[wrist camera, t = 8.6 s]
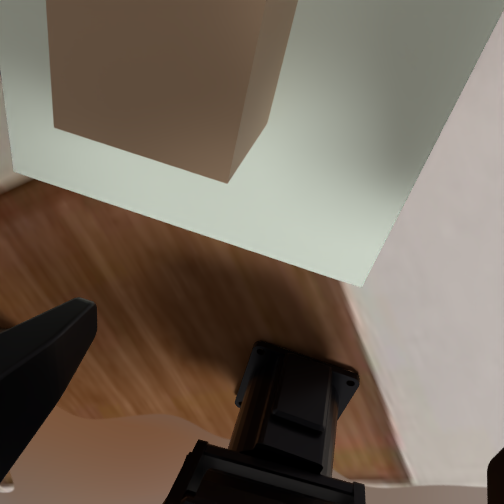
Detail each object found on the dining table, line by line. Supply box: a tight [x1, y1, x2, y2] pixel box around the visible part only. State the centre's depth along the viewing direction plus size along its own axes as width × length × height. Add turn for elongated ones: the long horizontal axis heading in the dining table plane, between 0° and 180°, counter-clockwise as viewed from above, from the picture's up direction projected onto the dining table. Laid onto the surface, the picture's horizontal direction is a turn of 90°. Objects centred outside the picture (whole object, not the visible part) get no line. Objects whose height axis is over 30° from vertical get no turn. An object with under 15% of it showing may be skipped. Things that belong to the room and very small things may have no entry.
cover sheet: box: [0, 0, 504, 288], centre depth 10 cm, size 13×13×5 cm
